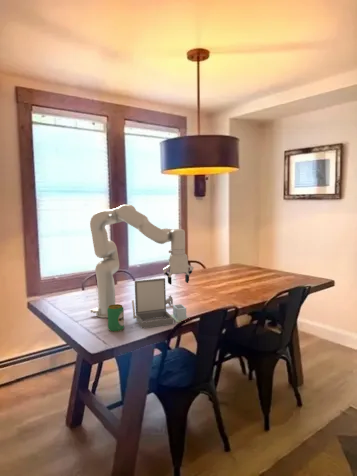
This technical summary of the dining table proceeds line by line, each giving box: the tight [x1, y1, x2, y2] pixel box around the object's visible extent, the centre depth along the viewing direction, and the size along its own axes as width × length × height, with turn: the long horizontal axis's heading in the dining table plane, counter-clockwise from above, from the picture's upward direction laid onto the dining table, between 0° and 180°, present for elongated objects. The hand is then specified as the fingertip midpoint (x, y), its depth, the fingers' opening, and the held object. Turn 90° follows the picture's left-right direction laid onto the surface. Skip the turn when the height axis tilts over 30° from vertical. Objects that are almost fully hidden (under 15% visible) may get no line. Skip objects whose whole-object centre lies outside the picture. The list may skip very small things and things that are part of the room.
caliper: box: [166, 294, 174, 306], centre depth 217 cm, size 20×1×6 cm, turn 138°
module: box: [172, 304, 187, 320], centre depth 198 cm, size 5×8×6 cm, turn 19°
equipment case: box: [131, 277, 175, 329], centre depth 192 cm, size 19×15×22 cm
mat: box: [170, 313, 189, 324], centre depth 198 cm, size 8×13×1 cm, turn 19°
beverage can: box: [107, 303, 125, 333], centre depth 182 cm, size 8×8×12 cm
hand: (178, 283), depth 196 cm, fingers open, 9 cm apart
